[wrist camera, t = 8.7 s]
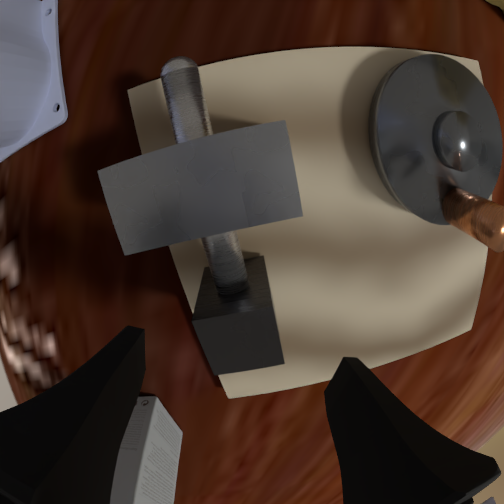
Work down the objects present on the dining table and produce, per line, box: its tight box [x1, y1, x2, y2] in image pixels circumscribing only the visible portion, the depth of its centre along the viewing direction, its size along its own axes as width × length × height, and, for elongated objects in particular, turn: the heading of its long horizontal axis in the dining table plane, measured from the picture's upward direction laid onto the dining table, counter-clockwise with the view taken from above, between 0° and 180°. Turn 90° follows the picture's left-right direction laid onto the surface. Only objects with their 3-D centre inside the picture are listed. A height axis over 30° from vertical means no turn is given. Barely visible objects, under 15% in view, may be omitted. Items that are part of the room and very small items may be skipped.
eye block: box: [98, 120, 303, 256], centre depth 11 cm, size 3×6×5 cm, turn 102°
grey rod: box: [161, 56, 285, 375], centre depth 11 cm, size 12×3×4 cm, turn 12°
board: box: [128, 47, 492, 398], centre depth 15 cm, size 20×20×1 cm
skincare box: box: [110, 396, 183, 504], centre depth 16 cm, size 6×4×12 cm
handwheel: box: [368, 54, 504, 252], centre depth 10 cm, size 9×9×5 cm
